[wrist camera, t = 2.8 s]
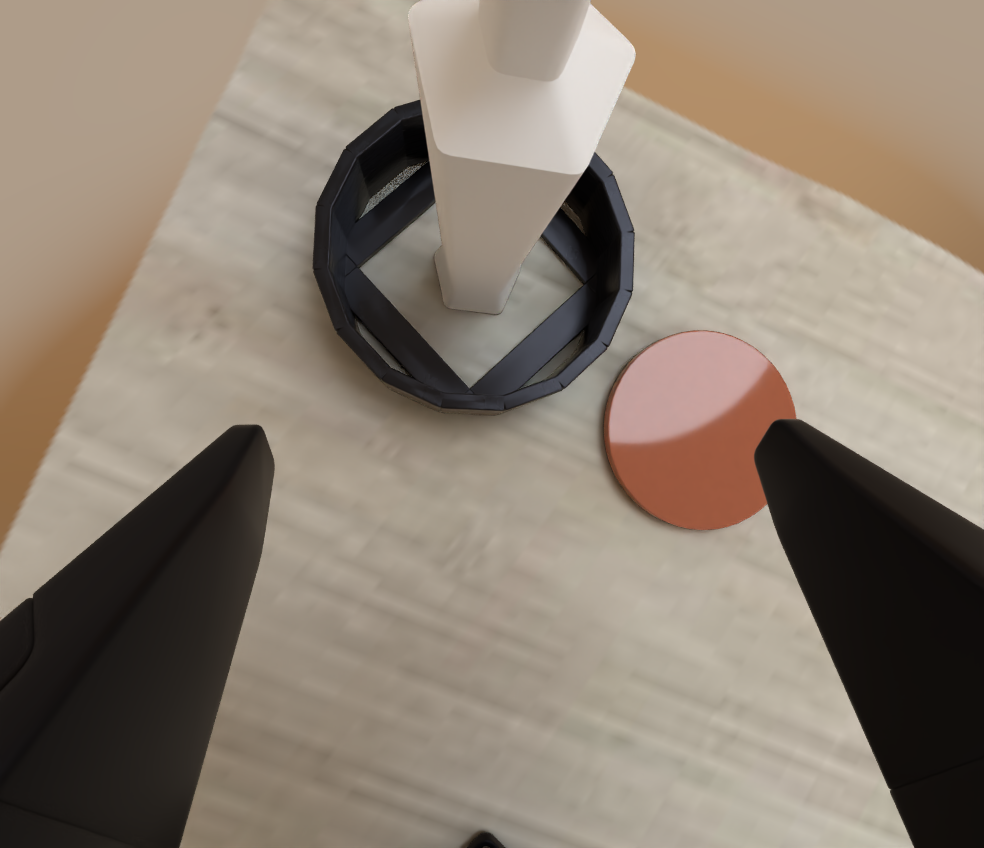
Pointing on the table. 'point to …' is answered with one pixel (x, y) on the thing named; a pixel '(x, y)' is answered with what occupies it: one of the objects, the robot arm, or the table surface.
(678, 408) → the coaster
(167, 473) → the table surface
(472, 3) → the perfume bottle
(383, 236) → the black ring
